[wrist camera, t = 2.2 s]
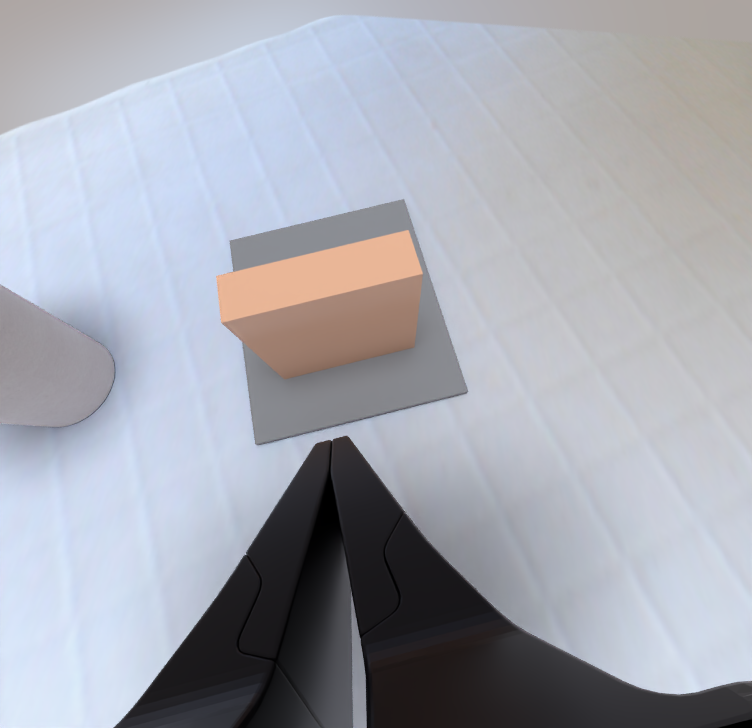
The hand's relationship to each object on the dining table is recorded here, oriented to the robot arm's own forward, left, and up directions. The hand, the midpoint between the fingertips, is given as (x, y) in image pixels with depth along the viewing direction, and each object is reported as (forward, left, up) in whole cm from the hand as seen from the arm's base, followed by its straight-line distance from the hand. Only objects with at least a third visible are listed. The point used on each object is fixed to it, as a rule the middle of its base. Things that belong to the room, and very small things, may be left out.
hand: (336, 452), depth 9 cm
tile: (+6, -5, -13) cm, 16 cm away
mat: (+8, -7, -14) cm, 18 cm away
